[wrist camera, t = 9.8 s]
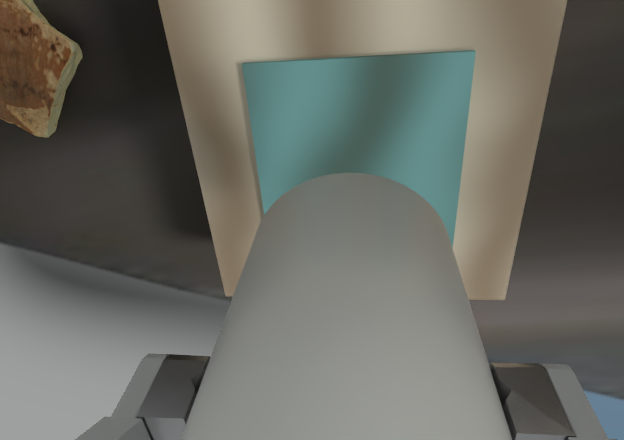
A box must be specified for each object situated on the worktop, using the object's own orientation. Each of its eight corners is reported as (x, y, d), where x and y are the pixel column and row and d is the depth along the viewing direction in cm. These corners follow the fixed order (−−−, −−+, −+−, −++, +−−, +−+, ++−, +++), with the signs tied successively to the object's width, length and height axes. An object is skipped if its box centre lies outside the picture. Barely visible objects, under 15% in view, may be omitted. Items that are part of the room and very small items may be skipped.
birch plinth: (531, -64, 19) (585, -68, 14) (482, 244, 27) (506, 303, 22) (194, -35, 20) (147, -31, 16) (246, 245, 29) (224, 299, 24)
